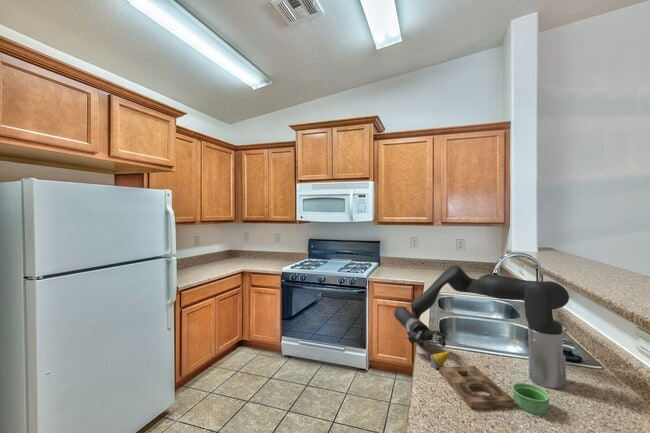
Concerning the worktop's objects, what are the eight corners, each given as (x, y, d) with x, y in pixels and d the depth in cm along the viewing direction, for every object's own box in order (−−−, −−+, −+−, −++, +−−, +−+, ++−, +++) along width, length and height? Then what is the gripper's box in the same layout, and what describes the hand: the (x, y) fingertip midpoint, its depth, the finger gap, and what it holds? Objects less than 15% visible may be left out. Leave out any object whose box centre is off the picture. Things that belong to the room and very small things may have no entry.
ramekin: (531, 418, 81) (530, 402, 81) (505, 399, 90) (504, 384, 90) (558, 414, 82) (558, 398, 83) (530, 395, 91) (529, 381, 91)
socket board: (474, 371, 106) (474, 365, 106) (514, 406, 86) (514, 399, 86) (439, 372, 105) (439, 367, 105) (471, 409, 85) (471, 402, 85)
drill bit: (431, 363, 113) (452, 348, 110) (437, 375, 108) (458, 360, 105) (422, 356, 111) (443, 341, 109) (427, 369, 107) (449, 353, 104)
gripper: (433, 337, 130) (451, 353, 113) (401, 338, 129) (415, 355, 112) (432, 320, 130) (451, 334, 113) (401, 321, 129) (415, 335, 112)
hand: (433, 344), depth 113 cm, fingers open, 8 cm apart
